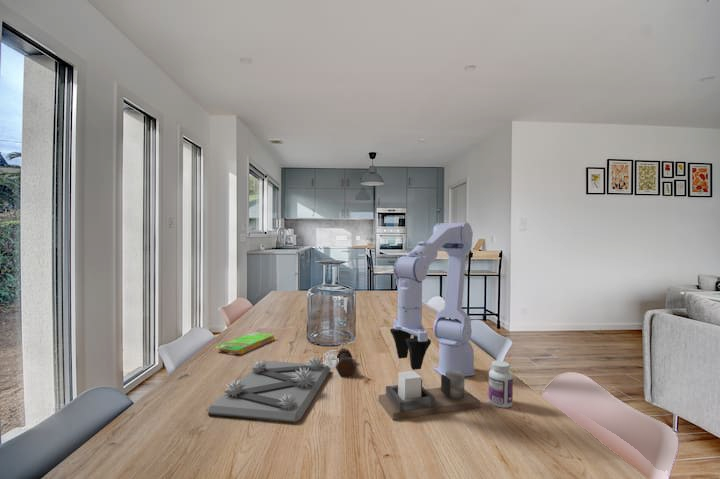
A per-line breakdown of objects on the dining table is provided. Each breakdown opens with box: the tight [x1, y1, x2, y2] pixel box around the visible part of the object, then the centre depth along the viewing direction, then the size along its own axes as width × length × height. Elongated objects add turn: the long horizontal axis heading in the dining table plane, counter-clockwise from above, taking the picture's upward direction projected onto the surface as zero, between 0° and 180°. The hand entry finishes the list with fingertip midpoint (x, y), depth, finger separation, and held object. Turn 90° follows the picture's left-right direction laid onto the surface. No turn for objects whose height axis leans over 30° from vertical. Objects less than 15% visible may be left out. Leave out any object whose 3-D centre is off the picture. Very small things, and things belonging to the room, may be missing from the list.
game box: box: [215, 331, 275, 355], centre depth 126 cm, size 3×10×20 cm
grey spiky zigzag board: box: [206, 354, 331, 423], centre depth 89 cm, size 30×22×7 cm
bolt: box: [335, 348, 357, 377], centre depth 106 cm, size 6×5×15 cm
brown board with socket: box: [378, 370, 481, 421], centre depth 83 cm, size 22×9×6 cm, turn 107°
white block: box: [397, 370, 423, 400], centre depth 82 cm, size 4×4×6 cm
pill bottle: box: [488, 360, 514, 409], centre depth 84 cm, size 5×5×10 cm
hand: (409, 363), depth 84 cm, fingers open, 7 cm apart
